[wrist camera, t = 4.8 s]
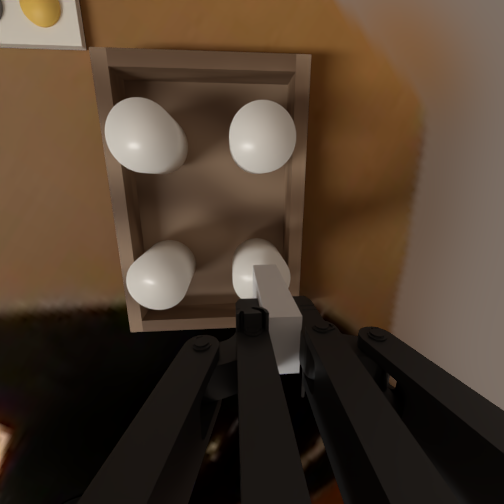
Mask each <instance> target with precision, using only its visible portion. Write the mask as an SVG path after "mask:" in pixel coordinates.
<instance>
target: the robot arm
mask: <svg viewBox="0 0 504 504" xmlns="http://www.w3.org/2000/svg"><path fill="white" fill-rule="evenodd" d="M235 307H236V333H235V334H234V336H232V337H231V338H230V339H228V340H225V341H222V342H219V341H218V340H217V339H216V338H215V337H213V336H209V335H199V336H196V337H193V338H191V339H189V340H188V341H187V342H186V343H185V344H184V345H183V347H182V348H181V350H180V351H179V353H178V354H177V356H176V357H175V359H174V360H173V362H172V363H171V365H170V366H169V368H168V369H167V371H166V372H165V374H164V375H163V377H162V378H161V380H160V381H159V383H158V384H157V385H156V387H155V388H154V390H153V391H152V393H151V394H150V396H149V397H148V399H147V400H146V402H145V403H144V405H143V406H142V408H141V409H140V411H139V412H138V414H137V415H136V417H135V418H134V420H133V421H132V423H131V424H130V425H129V427H128V428H127V430H126V431H125V433H124V434H123V436H122V437H121V439H120V440H119V442H118V443H117V445H116V446H115V448H114V449H113V451H112V452H111V454H110V455H109V457H108V458H107V460H106V461H105V463H104V464H103V465H102V467H101V468H100V470H99V471H98V473H97V474H96V476H95V477H94V479H93V480H92V482H91V483H90V485H89V486H88V488H87V489H86V491H85V492H84V494H83V495H82V496H81V497H78V498H75V499H72V500H70V501H68V502H66V503H64V504H188V502H189V499H190V496H191V493H192V490H193V487H194V484H195V481H196V478H197V475H198V472H199V469H200V466H201V463H202V460H203V457H204V454H205V451H206V448H207V445H208V442H209V439H210V436H211V433H212V430H213V427H214V424H215V421H216V418H217V415H218V412H219V409H220V406H221V400H222V399H223V398H226V397H229V396H232V395H234V394H237V393H238V421H239V455H240V488H241V504H311V500H310V496H309V492H308V488H307V484H306V480H305V476H304V472H303V468H302V464H301V460H300V456H299V452H298V447H297V443H296V439H295V435H294V431H293V427H292V423H291V419H290V415H289V411H288V407H287V403H286V399H285V395H284V391H283V387H282V383H281V379H280V375H279V374H290V373H299V367H300V364H301V367H302V369H303V372H302V388H301V396H302V397H304V393H305V391H306V394H307V396H308V399H309V402H310V405H311V408H312V411H313V414H314V417H315V420H316V423H317V426H318V428H319V431H320V434H321V437H322V440H323V443H324V446H325V449H326V452H327V455H328V458H329V461H330V463H331V466H332V469H333V472H334V475H335V478H336V481H337V484H338V487H339V490H340V493H341V495H342V498H343V501H344V504H504V411H503V410H502V409H500V408H499V407H497V406H496V405H494V404H493V403H491V402H490V401H489V400H487V399H486V398H484V397H483V396H481V395H480V394H478V393H477V392H475V391H474V390H472V389H471V388H469V387H468V386H467V385H465V384H464V383H462V382H461V381H459V380H458V379H457V378H455V377H454V376H452V375H451V374H449V373H448V372H446V371H445V370H443V369H442V368H440V367H439V366H438V365H436V364H434V363H433V362H432V361H430V360H429V359H427V358H426V357H424V356H423V355H422V354H420V353H418V352H417V351H416V350H414V349H413V348H411V347H410V346H408V345H407V344H406V343H404V342H402V341H401V340H400V339H398V338H397V337H395V336H394V335H392V334H391V333H389V332H387V331H386V330H383V329H380V328H378V327H364V328H361V329H360V330H359V333H358V336H352V335H346V334H341V333H340V331H339V330H338V328H337V327H336V326H335V325H334V324H332V323H330V322H327V321H324V320H323V318H322V317H321V315H320V314H319V312H318V310H317V309H316V307H315V306H314V304H313V303H312V301H311V300H310V299H308V298H307V297H305V296H292V295H291V293H290V291H289V289H288V287H287V285H286V283H285V281H284V279H283V277H282V275H281V273H280V272H279V270H278V268H277V266H276V264H270V265H253V298H248V299H239V300H238V301H237V302H236V303H235ZM390 376H392V377H393V378H394V379H395V380H396V381H397V383H396V387H395V388H394V387H393V386H392V385H390V384H389V377H390Z"/></svg>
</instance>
